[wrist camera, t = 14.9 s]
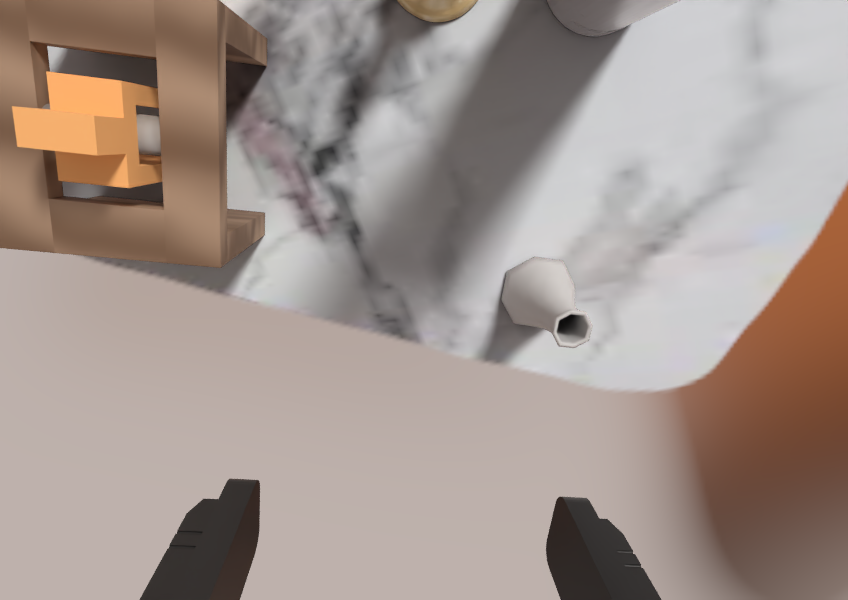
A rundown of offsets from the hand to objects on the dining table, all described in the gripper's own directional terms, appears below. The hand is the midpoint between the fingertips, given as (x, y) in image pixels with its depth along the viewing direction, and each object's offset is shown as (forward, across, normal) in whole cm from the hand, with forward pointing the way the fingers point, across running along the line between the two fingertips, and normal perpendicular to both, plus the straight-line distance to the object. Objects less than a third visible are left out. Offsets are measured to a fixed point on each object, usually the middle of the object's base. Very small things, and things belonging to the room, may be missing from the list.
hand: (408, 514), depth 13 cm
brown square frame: (+34, +19, -8) cm, 40 cm away
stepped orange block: (+31, +19, -8) cm, 37 cm away
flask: (+34, -14, +3) cm, 37 cm away
